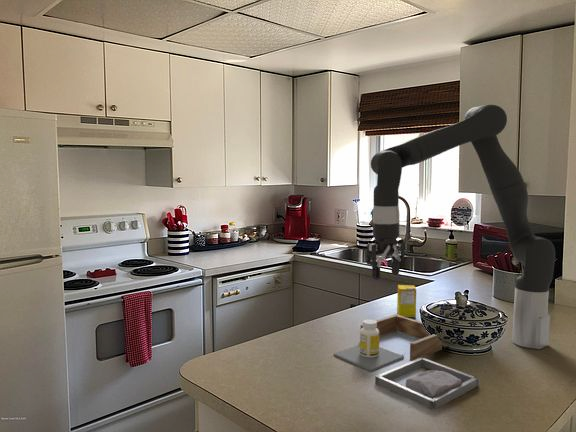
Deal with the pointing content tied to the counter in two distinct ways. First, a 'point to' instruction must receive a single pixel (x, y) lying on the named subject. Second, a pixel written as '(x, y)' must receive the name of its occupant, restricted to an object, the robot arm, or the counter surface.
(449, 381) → the stone block
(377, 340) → the supplement bottle
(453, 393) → the metal tray
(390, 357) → the mat
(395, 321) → the open wooden tray
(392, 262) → the robot arm
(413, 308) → the supplement box
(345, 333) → the counter surface
